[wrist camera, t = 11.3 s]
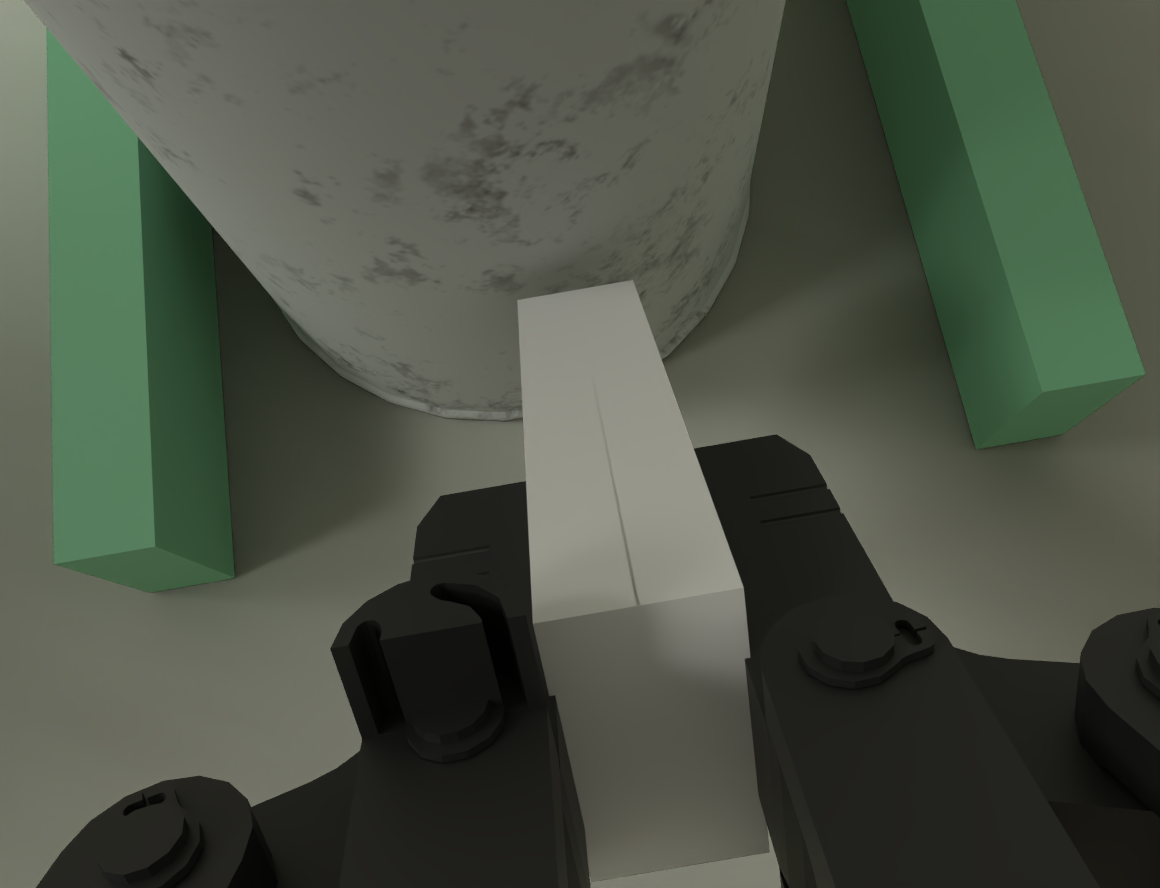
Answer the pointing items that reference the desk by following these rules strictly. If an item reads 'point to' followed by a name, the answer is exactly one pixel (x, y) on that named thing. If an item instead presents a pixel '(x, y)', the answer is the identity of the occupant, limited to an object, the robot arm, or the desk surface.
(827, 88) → the desk surface
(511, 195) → the speckled concrete drum
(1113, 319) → the green angular frame
